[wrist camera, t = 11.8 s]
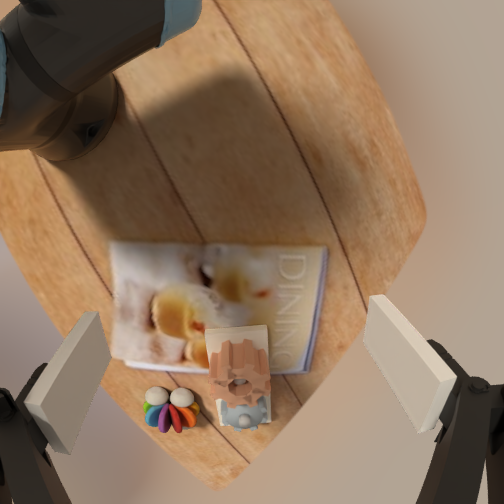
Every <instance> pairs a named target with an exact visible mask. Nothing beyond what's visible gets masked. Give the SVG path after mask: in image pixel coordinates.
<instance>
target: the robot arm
mask: <svg viewBox="0 0 504 504" xmlns="http://www.w3.org/2000/svg"><path fill="white" fill-rule="evenodd" d="M19 1H20V2H21V3H20V4H19V5H18V6H16V7H15V8H14V9H13V10H12V11H11V12H9V13H8V14H7V15H6V16H5V17H4V18H3V19H2V20H1V21H0V152H1V151H12V150H24V149H29V150H30V151H32V152H34V153H36V154H37V155H39V156H40V157H42V158H45V159H48V160H54V161H62V160H71V159H75V158H78V157H81V156H83V155H85V154H86V153H88V152H89V151H91V150H92V149H93V148H95V147H96V146H97V145H98V144H99V143H100V142H101V140H102V139H103V138H104V137H105V135H106V134H107V132H108V130H109V129H110V127H111V125H112V122H113V120H114V117H115V114H116V110H117V104H118V90H117V84H116V81H115V78H114V76H113V74H112V72H113V71H115V70H116V69H118V68H120V67H121V66H123V65H125V64H126V63H128V62H130V61H131V60H133V59H135V58H137V57H138V56H140V55H142V54H144V53H146V52H147V51H149V50H151V49H153V48H156V49H157V48H160V47H161V46H163V45H164V43H165V42H166V41H168V40H170V39H172V38H174V37H175V36H177V35H179V34H181V33H183V32H185V31H187V30H189V29H190V28H192V27H193V26H194V25H195V24H196V22H197V20H198V19H199V16H200V13H201V10H202V0H19ZM363 343H364V345H365V347H366V348H367V349H368V351H369V353H370V355H371V356H372V358H373V359H374V361H375V363H376V364H377V366H378V367H379V369H380V371H381V372H382V374H383V376H384V377H385V379H386V381H387V382H388V384H389V385H390V387H391V389H392V390H393V392H394V394H395V395H396V397H397V399H398V400H399V402H400V404H401V405H402V407H403V409H404V411H405V412H406V414H407V416H408V417H409V419H410V421H411V422H412V424H413V426H414V428H415V429H416V431H417V433H418V434H419V433H422V432H425V431H428V430H431V429H434V427H435V425H436V423H437V421H438V419H440V420H441V422H442V423H443V426H442V428H441V430H440V432H439V434H438V436H437V438H436V440H435V441H434V442H437V444H436V448H435V451H434V454H433V457H432V460H431V464H430V466H429V469H428V472H427V475H426V478H425V481H424V484H423V487H422V489H421V492H420V494H419V497H418V499H417V502H416V504H476V502H477V498H478V493H479V489H480V484H481V479H482V474H483V469H484V463H485V460H486V470H487V484H488V504H504V384H502V385H490V384H489V383H488V382H487V381H486V380H484V379H482V378H480V377H473V376H472V377H470V376H469V375H468V374H467V373H466V372H465V371H464V370H463V368H462V367H461V366H460V365H459V364H458V363H457V362H456V361H455V359H452V356H451V355H450V354H449V353H447V351H446V350H445V348H444V347H443V346H442V345H441V344H439V343H437V342H435V341H434V340H432V339H431V340H425V339H424V338H423V337H422V336H421V334H420V333H419V332H418V331H417V330H416V329H415V328H414V327H413V326H412V325H411V323H410V322H409V321H408V320H407V319H406V318H405V317H404V316H403V315H402V314H401V312H400V311H399V310H398V309H397V308H396V307H395V306H394V305H393V304H392V303H391V302H390V301H389V300H388V299H387V297H386V296H385V295H384V294H382V295H373V296H370V299H369V306H368V313H367V320H366V327H365V334H364V339H363ZM111 358H112V357H111V354H110V351H109V347H108V344H107V341H106V337H105V334H104V330H103V327H102V323H101V320H100V316H99V312H84V314H83V315H82V316H81V318H80V319H79V320H78V322H77V323H76V325H75V326H74V327H73V329H72V330H71V331H70V333H69V334H68V336H67V337H66V338H65V340H64V342H63V343H62V344H61V346H60V347H59V349H58V350H57V351H56V353H55V355H54V356H53V357H52V359H51V360H50V362H49V363H43V364H42V365H41V366H39V367H38V368H37V369H36V370H35V371H34V373H33V374H32V376H31V379H29V380H28V382H27V385H25V386H24V388H23V389H22V391H21V392H20V394H19V395H18V397H17V399H16V400H15V401H14V399H13V397H12V395H11V394H10V392H9V391H8V390H7V389H5V388H0V504H12V499H13V502H14V504H72V503H71V501H70V499H69V497H68V495H67V493H66V491H65V489H64V487H63V485H62V483H61V481H60V479H59V477H58V474H57V472H56V470H55V468H54V466H53V463H52V461H51V459H50V456H49V454H48V452H47V451H46V450H45V448H46V446H47V444H48V443H49V444H50V445H51V447H52V449H53V450H54V451H55V452H60V453H64V454H68V455H70V454H71V452H72V449H73V446H74V444H75V441H76V438H77V436H78V433H79V431H80V429H81V426H82V423H83V421H84V419H85V417H86V414H87V412H88V409H89V407H90V405H91V402H92V400H93V397H94V395H95V393H96V391H97V388H98V386H99V384H100V382H101V379H102V377H103V375H104V373H105V371H106V368H107V366H108V364H109V362H110V360H111Z"/></svg>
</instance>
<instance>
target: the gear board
mask: <svg viewBox="0 0 504 504" xmlns="http://www.w3.org/2000/svg"><path fill="white" fill-rule="evenodd" d="M244 339H248V340H252V345H253V348H255V349H256V350H260V349H262V348H263V349H264V350H265V352H266V354H267V359H268V365H269V353H268V331H267V325H266V324H265V325H254V326H241V327H228V328H213V329H205V341H206V347H207V353H208V359H209V365H210V357H211V354H212V352H215V353H219V352H220V351H221V347H222V342H225V341H227V340H230V342H231V344H238V343H242V342H243V340H244ZM233 381H234V383H235V384H238V385H242V384H244V383H245V382H246V379H234V380H233ZM257 402H258V405H256V406H254V407H251V408H250V407H249V405H248V404H243V405H237V406H236V408H235V409H233V408H228V407H227V402H226V401H224V400H222V399H217V400H216V405H217V410H218V415H219V420H220V425H221V426H230V425H231V426H233V427H234V431H240V432H241V430H242V429H247V428H250V429H251V430H252V431H253V430H256V429H258V426H257V425H258V424H259V423H269V422H271V400H270V394H269V396H263V395H262V396H261V397H260V398H259V399H257Z"/></svg>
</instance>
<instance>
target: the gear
mask: <svg viewBox="0 0 504 504" xmlns="http://www.w3.org/2000/svg"><path fill="white" fill-rule="evenodd" d="M234 379H246V382H245V383H244V384H242V385H238V384H235V383H234V381H233V380H234ZM270 379H271V377H270V371H269V365H268V359H267V354H266V352H265V350H264V349H263V348H262V349H260V350H256V349H255V348H253V345H252V340H248V339H244V340H243V342H242V343H238V344H231V342H230V340H227V341H225V342H222V347H221V351H220V352H219V353H215V352H212V354H211V357H210V367H209V380H208V384H211V394H210V395H211V396H212V398H213V399H214V400H217V399H222V400H224V401H226V402H227V407H228V408H233V409H235V408H236V406H237V405H243V404H248V405H249V407H250V408H251V407H254V406H256V405H258V402H257V399H259V398H260V397H261V396H262V395H263V396H269V394H270V392H271V385H270Z"/></svg>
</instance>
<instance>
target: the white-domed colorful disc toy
mask: <svg viewBox="0 0 504 504" xmlns="http://www.w3.org/2000/svg"><path fill="white" fill-rule="evenodd" d="M168 399H169V395H168V393H167V391H166V390H165V389H163V388H162V387H158V386H155V387H151V388H150V389H148V390H147V392H146V394H145V400H146V402H145V403H144V406H143V409H144V412H145V413H146V416H145V422H146V423H147V424H148V425H149V426H152V427H159V430H160V431H161V432H162V433H166V432H168V430H169V429H170V427H171V424H172V426H173V428H174V430H175V431H176V432H177V433H181V432H182V429H190V428H191V427H194V426H195V425H196V423H197V419H196V416H197V415H198V414H199V411H200V409H199V406H198V404H197V403H196V402H195V401H194V396H193V394H192V392H191V391H189V390H188V389H186V388H177V389H175V390H174V391H173V392H172V393H171V395H170V401H171V403H172V404H168Z"/></svg>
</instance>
